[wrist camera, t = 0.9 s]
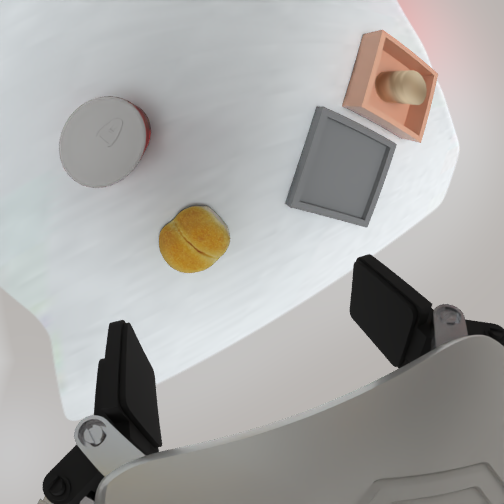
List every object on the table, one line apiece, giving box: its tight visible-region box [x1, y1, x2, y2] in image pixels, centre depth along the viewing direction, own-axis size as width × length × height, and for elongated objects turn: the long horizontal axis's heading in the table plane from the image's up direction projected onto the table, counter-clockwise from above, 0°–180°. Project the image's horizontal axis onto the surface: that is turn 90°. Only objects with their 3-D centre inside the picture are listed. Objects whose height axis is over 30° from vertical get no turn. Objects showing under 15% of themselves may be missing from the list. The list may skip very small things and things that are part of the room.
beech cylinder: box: [375, 70, 427, 105], centre depth 33 cm, size 5×5×6 cm
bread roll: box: [159, 206, 230, 273], centre depth 37 cm, size 8×9×4 cm
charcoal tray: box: [286, 107, 397, 227], centre depth 39 cm, size 14×14×2 cm
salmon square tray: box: [342, 30, 438, 143], centre depth 34 cm, size 13×13×4 cm
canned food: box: [59, 96, 151, 188], centre depth 25 cm, size 8×8×11 cm
